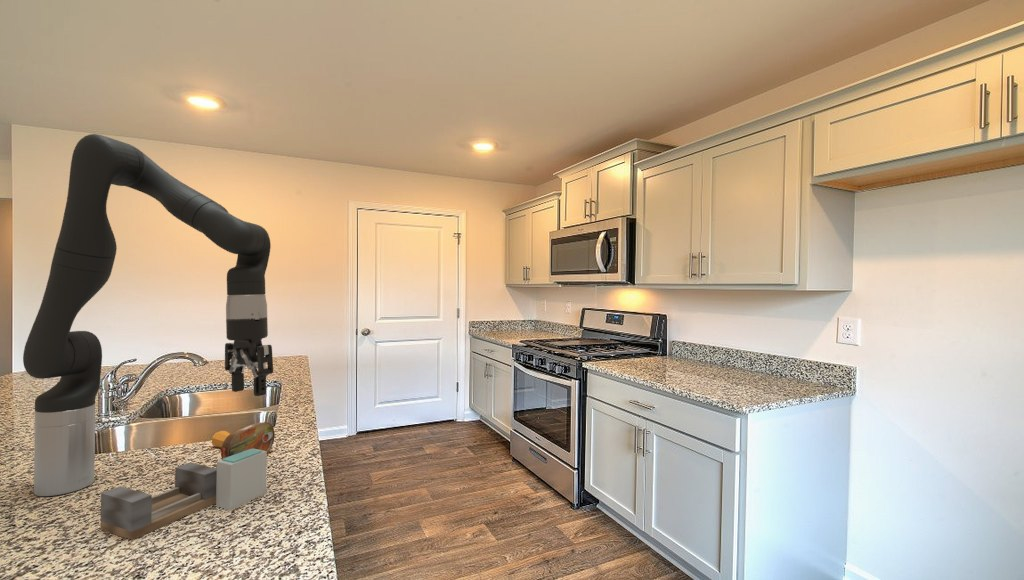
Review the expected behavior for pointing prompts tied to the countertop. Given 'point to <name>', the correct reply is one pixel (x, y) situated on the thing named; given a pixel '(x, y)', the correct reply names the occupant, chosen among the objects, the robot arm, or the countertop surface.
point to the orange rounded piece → (220, 438)
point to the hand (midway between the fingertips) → (248, 393)
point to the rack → (158, 502)
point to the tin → (249, 439)
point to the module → (241, 478)
